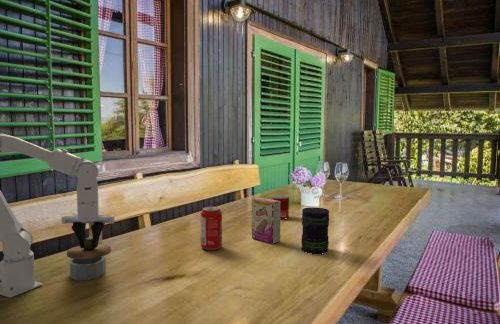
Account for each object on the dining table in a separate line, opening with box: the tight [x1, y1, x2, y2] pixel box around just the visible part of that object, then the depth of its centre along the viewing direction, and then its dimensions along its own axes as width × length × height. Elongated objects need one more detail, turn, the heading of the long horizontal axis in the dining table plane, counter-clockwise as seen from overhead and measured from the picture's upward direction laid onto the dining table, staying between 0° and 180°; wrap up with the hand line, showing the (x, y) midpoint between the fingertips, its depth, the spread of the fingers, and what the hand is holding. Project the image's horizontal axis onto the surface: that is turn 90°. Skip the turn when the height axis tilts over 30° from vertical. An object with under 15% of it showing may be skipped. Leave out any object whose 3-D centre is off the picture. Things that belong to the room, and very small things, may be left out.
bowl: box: [68, 256, 107, 281], centre depth 120 cm, size 10×10×4 cm
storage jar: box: [300, 206, 330, 255], centre depth 143 cm, size 10×10×15 cm
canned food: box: [272, 194, 290, 220], centre depth 193 cm, size 8×8×11 cm
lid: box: [66, 237, 112, 259], centre depth 116 cm, size 12×12×5 cm
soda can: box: [200, 206, 223, 251], centre depth 146 cm, size 8×8×15 cm
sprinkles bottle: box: [88, 213, 103, 244], centre depth 140 cm, size 5×5×13 cm
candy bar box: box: [251, 197, 281, 245], centre depth 155 cm, size 11×5×16 cm, turn 47°
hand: (89, 247), depth 116 cm, fingers closed on lid, 3 cm apart
